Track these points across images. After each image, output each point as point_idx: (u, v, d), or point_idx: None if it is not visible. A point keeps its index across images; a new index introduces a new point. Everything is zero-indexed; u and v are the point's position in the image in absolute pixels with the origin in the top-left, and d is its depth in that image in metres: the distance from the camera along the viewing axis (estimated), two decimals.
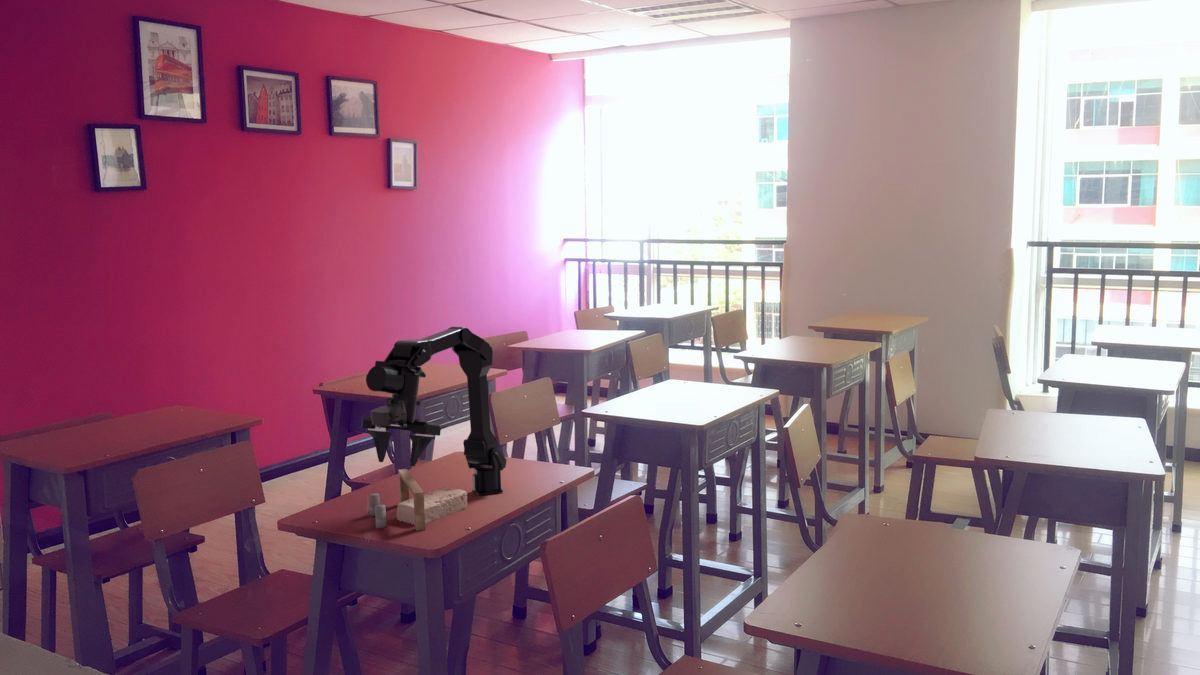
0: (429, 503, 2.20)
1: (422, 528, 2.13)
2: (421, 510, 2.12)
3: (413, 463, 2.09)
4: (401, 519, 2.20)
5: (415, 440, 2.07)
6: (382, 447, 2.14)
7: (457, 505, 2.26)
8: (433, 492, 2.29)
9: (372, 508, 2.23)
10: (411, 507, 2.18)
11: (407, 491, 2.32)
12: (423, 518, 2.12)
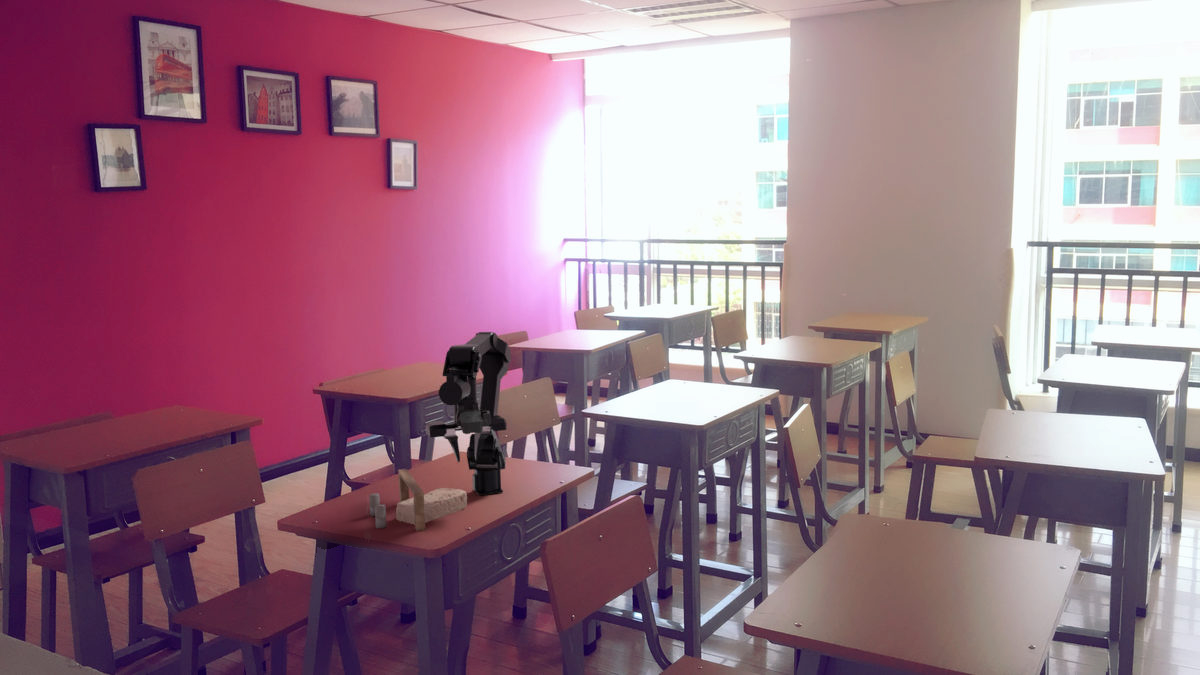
0: (428, 503, 2.21)
1: (422, 528, 2.13)
2: (421, 510, 2.12)
3: None
4: (400, 519, 2.20)
5: (484, 437, 2.26)
6: None
7: (456, 505, 2.26)
8: (433, 492, 2.29)
9: (372, 508, 2.23)
10: (410, 507, 2.18)
11: (407, 491, 2.32)
12: (423, 518, 2.12)
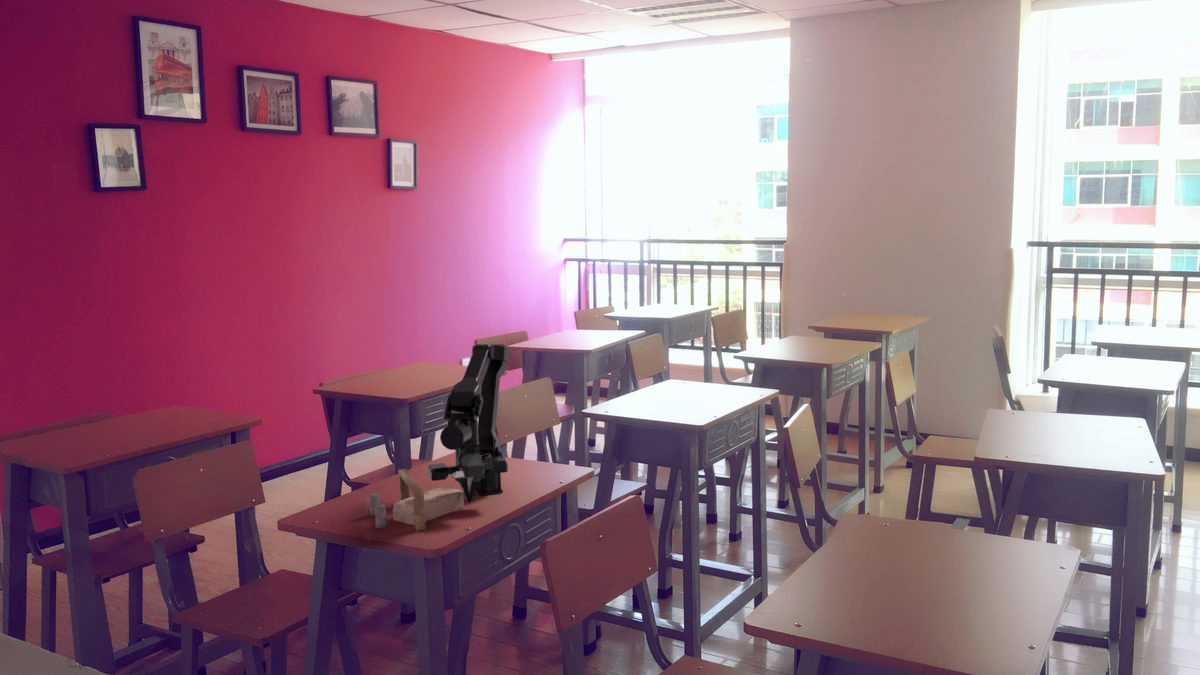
0: (425, 503, 2.21)
1: (422, 528, 2.13)
2: (421, 510, 2.12)
3: None
4: (397, 519, 2.20)
5: (477, 480, 2.26)
6: None
7: (453, 504, 2.26)
8: (429, 492, 2.29)
9: (372, 508, 2.23)
10: (407, 507, 2.18)
11: (407, 491, 2.32)
12: (423, 518, 2.12)
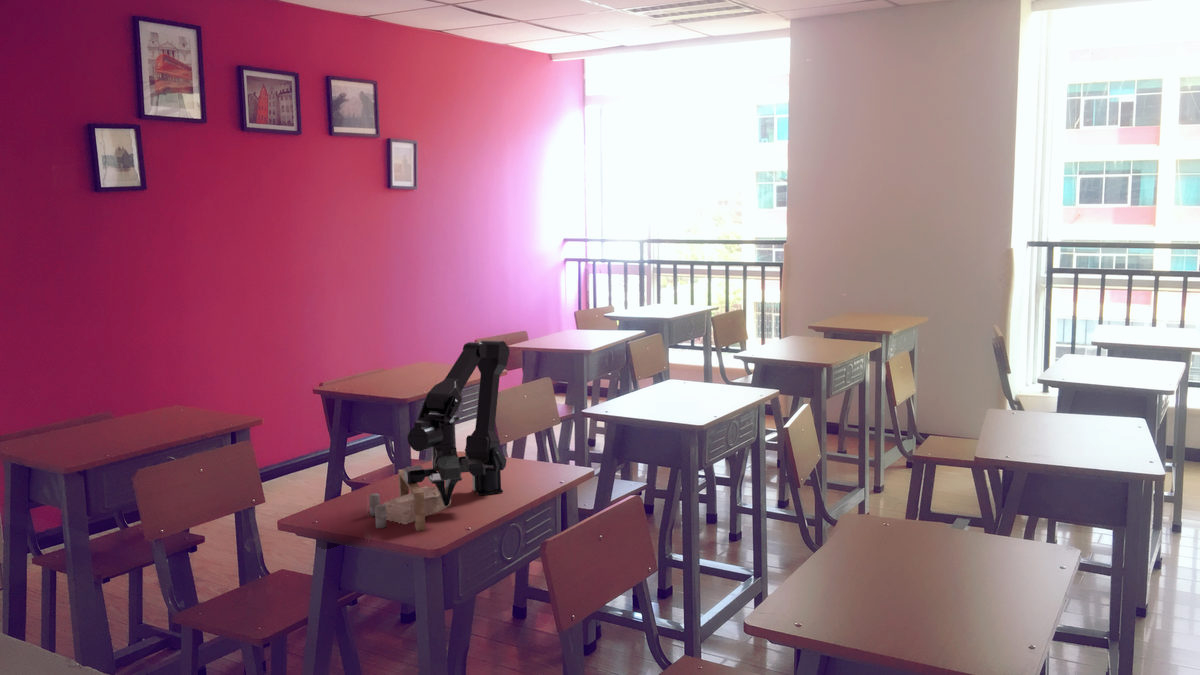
0: None
1: (422, 528, 2.13)
2: (421, 510, 2.12)
3: None
4: (387, 518, 2.20)
5: (454, 483, 2.24)
6: None
7: (441, 503, 2.27)
8: None
9: (372, 508, 2.23)
10: (398, 506, 2.19)
11: (407, 491, 2.32)
12: (423, 518, 2.12)
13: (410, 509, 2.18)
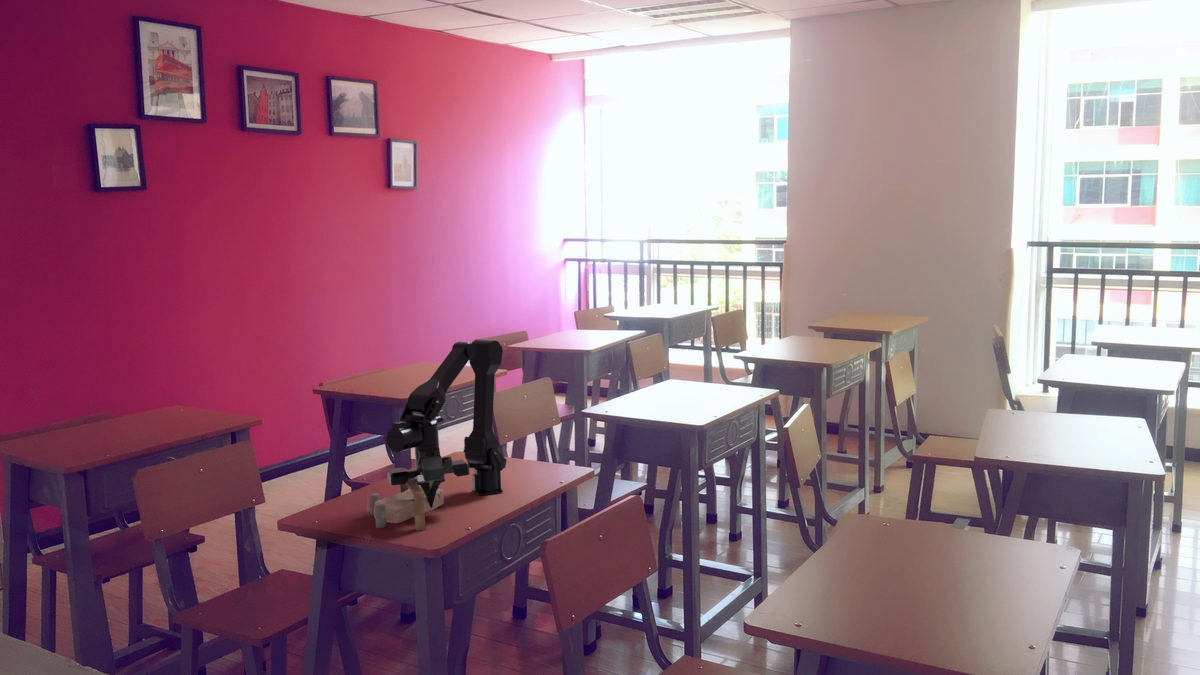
0: (406, 501, 2.22)
1: (422, 528, 2.13)
2: (421, 510, 2.12)
3: None
4: None
5: (437, 484, 2.22)
6: None
7: (433, 502, 2.28)
8: (410, 490, 2.30)
9: (372, 508, 2.23)
10: (389, 505, 2.19)
11: None
12: (423, 518, 2.12)
13: (400, 508, 2.18)
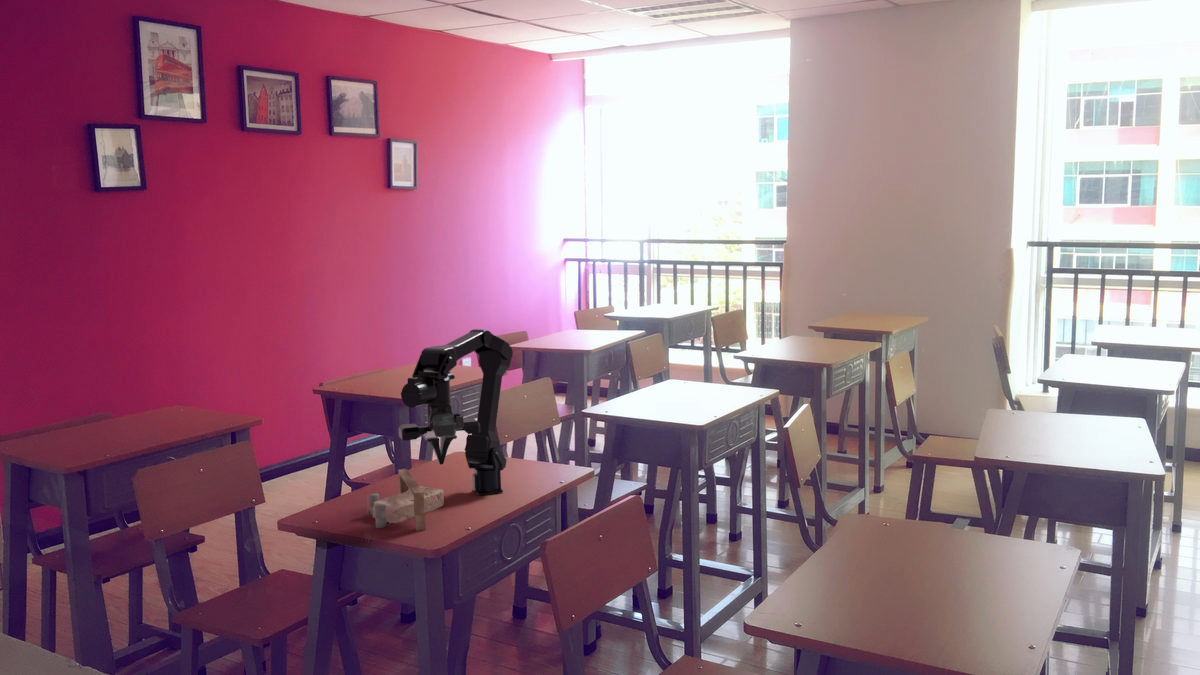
0: (405, 501, 2.22)
1: (422, 528, 2.13)
2: (421, 510, 2.12)
3: None
4: None
5: (449, 441, 2.23)
6: None
7: (433, 503, 2.27)
8: (410, 491, 2.30)
9: (372, 508, 2.23)
10: (386, 505, 2.19)
11: None
12: (423, 518, 2.12)
13: (398, 509, 2.18)
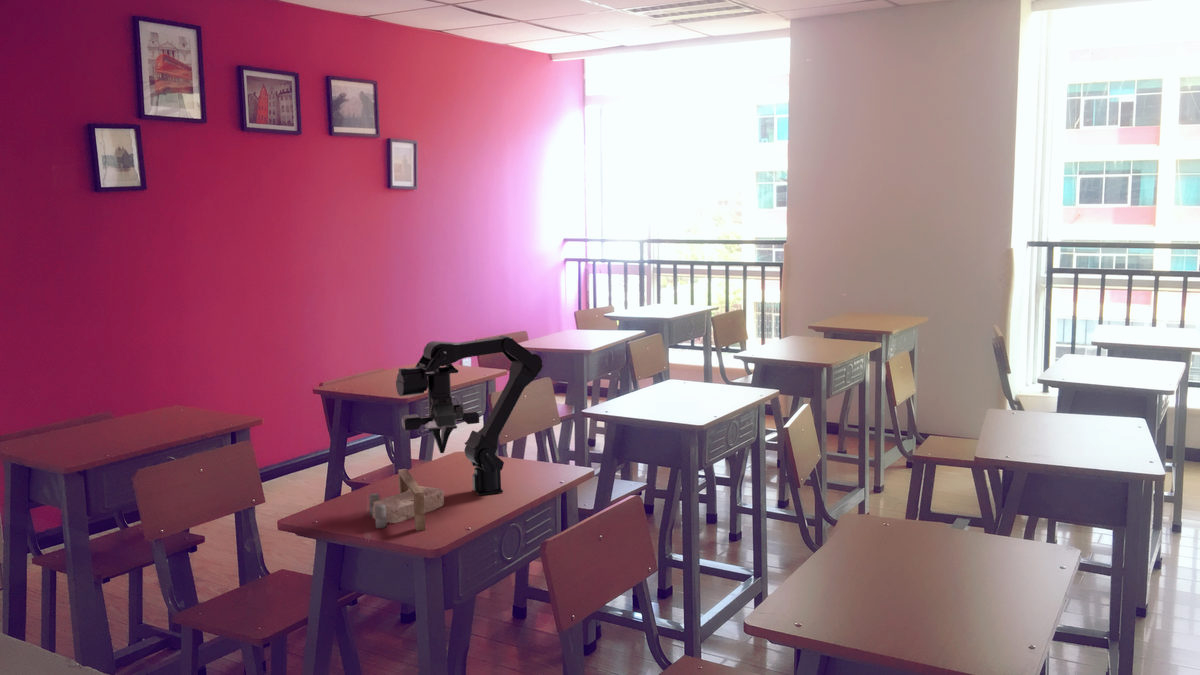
0: (405, 501, 2.22)
1: (422, 528, 2.13)
2: (421, 510, 2.12)
3: None
4: None
5: (450, 431, 2.34)
6: None
7: (433, 503, 2.27)
8: (410, 491, 2.30)
9: (372, 508, 2.23)
10: (386, 505, 2.19)
11: None
12: (423, 518, 2.12)
13: (398, 509, 2.18)
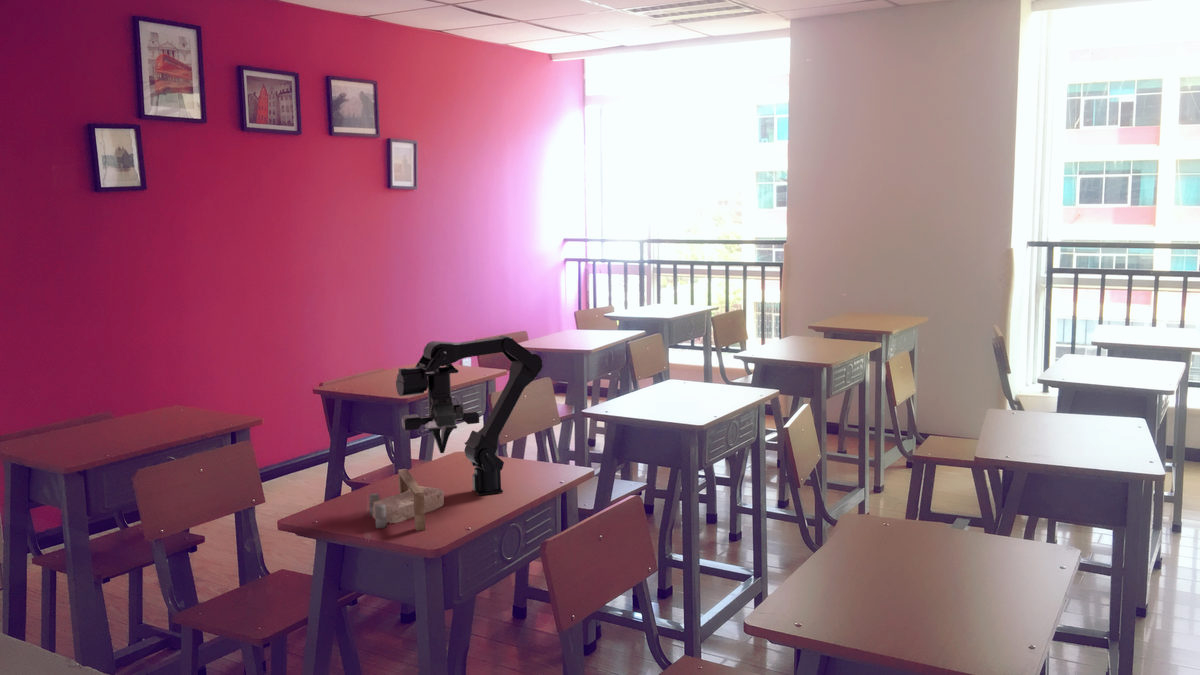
0: (405, 502, 2.22)
1: (422, 528, 2.13)
2: (421, 510, 2.12)
3: None
4: None
5: (450, 431, 2.34)
6: None
7: (433, 503, 2.27)
8: (410, 491, 2.30)
9: (372, 508, 2.23)
10: (386, 506, 2.19)
11: None
12: (423, 518, 2.12)
13: (398, 509, 2.18)
